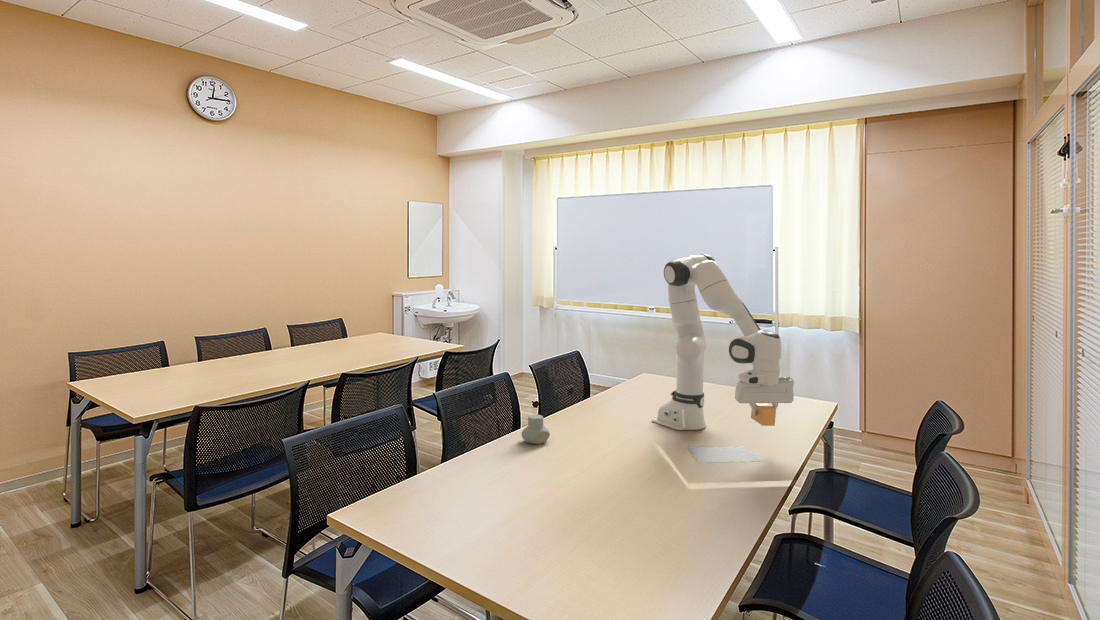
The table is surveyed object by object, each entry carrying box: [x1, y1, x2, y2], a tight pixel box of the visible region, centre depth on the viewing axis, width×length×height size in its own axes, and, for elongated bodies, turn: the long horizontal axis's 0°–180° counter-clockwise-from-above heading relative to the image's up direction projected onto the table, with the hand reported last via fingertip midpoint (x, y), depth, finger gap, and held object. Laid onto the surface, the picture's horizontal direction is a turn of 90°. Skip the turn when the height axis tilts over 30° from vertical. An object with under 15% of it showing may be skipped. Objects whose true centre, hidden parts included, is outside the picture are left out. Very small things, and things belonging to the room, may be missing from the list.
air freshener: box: [521, 414, 551, 445], centre depth 210 cm, size 11×8×10 cm
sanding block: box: [750, 403, 777, 427], centre depth 194 cm, size 9×4×6 cm, turn 4°
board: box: [686, 445, 762, 464], centre depth 194 cm, size 22×14×2 cm, turn 94°
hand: (762, 414), depth 194 cm, fingers closed on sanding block, 4 cm apart
